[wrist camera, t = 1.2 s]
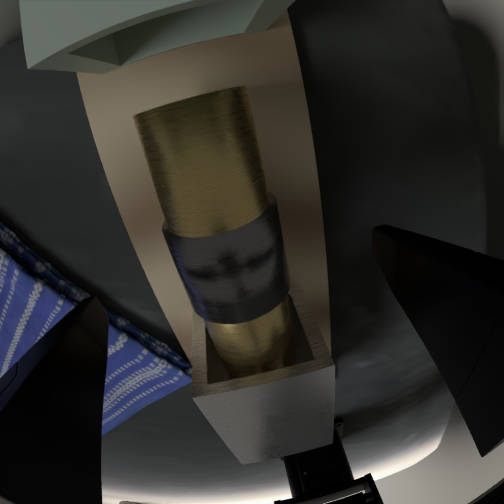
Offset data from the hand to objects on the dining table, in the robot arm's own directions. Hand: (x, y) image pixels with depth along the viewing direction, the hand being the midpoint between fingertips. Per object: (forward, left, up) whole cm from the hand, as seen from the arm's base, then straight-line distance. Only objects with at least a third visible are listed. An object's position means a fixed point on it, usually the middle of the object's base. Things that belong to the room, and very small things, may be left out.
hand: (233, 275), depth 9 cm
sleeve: (-8, 0, -4) cm, 9 cm away
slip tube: (-3, 0, -3) cm, 4 cm away
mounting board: (0, 0, -4) cm, 4 cm away
